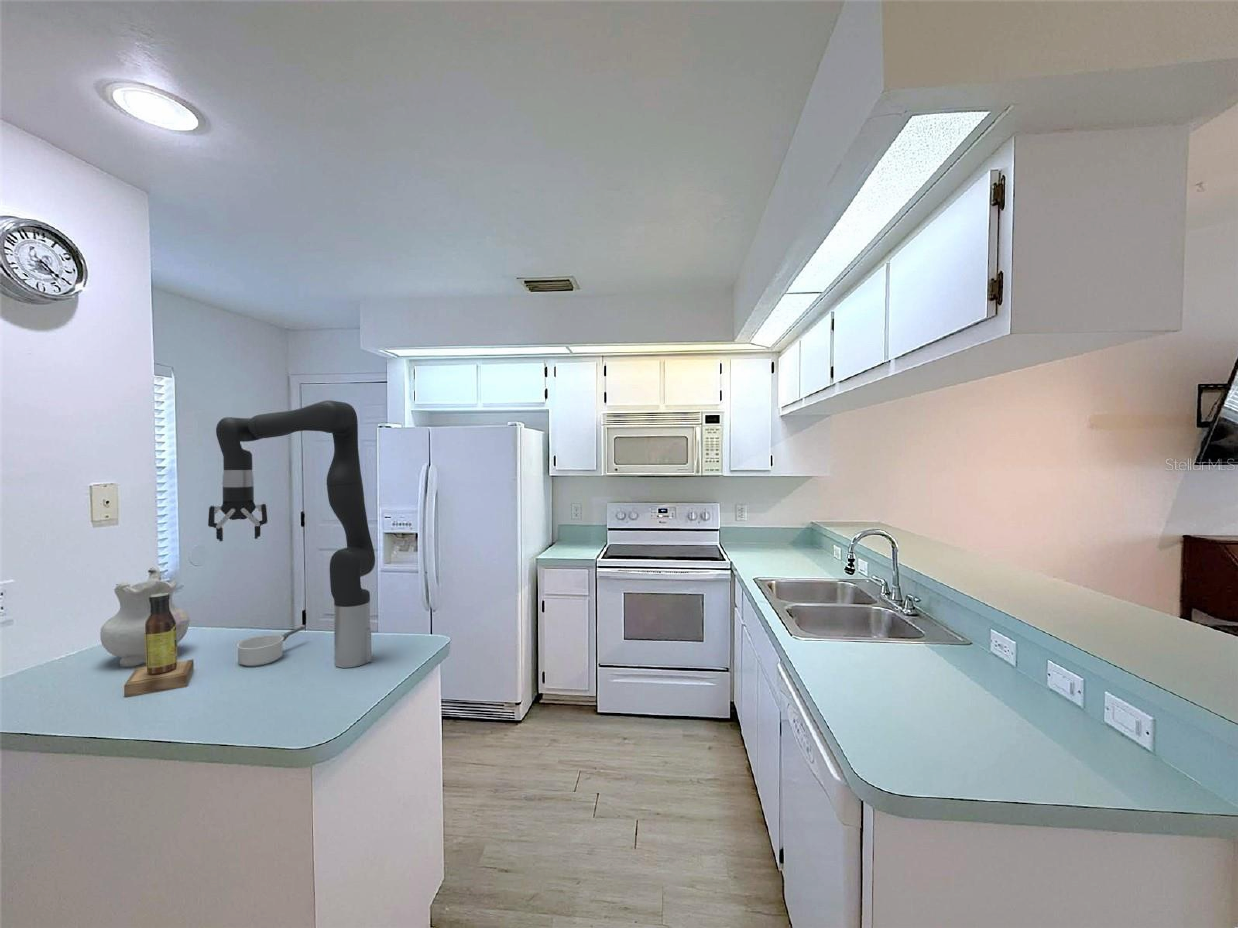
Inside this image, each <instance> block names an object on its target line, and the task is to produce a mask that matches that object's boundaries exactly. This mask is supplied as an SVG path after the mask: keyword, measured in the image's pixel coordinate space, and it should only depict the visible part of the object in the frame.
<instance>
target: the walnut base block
mask: <svg viewBox="0 0 1238 928" xmlns="http://www.w3.org/2000/svg"><path fill="white" fill-rule="evenodd" d="M193 672H194V658H193V659H186V660H181V661H180V660H179V661H177V666H176V668H175V669H173V670H171V671H168V672H165V673H161V674H149V673H148V672H147V668H146V666H142V667H136V668H135V669H134V670H133V672H132V673H131V675H130V676H129V677H128V679H127V681H126V682H125V684H123V685H124V686H123V688H124V691H123V693H124V696H123V697H124V698H128V697H134V696H141V695H147V694H151V693H157V692H162V691H163V692H164V691H168V690H174V689H179V688H186V687H188V684H189V682H190V680H191V676H192V675H193Z"/></svg>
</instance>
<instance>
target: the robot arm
mask: <svg viewBox="0 0 1238 928" xmlns="http://www.w3.org/2000/svg"><path fill="white" fill-rule="evenodd" d="M358 424H359V423H358V415H357V411H356V410H355V408H354V407H353V405H351V404H349V403H348V402H342V401H337V400H323V401H320V402H317V403H316V402H315V403H313V404H310V405H307V406H304V407H300V408H297V409H293V410H286V411H277V412H269V413H262V414H257V415H254V416H252V417H246V418H245V417H229V416H228V417H227V416H226V417H223V418H221V419H220V420H219V421H218V423H217V424H216V428H215V435H216V438H217V441H218V445H219V448H220V451H221V453H222V457H223V460H222V461H223V469H222V471H223V472H222V481H221V485H222V505H216V506H215V505H211V506H209V507H208V522H207V525H208V527H209V528H214V529H215V530H216V533H215V535H216V536H215V537H216V540H218V542H223V541H224V528H223V525H225V523H226V522H227V521H228V520H231V521H236V520H246V519H248V520H249V521H250V522H251V523H253V525H254V540H257V539H258V538H259V537H260V536H261V526H263V525H266V524H267V523H268V512H267V504H266V503H262V504H255V497H254V496H255V494H254V491H255V487H254V485H255V482H254V473H253V454H252V452H251V451H250V450H247V449H244V448H243V447H242V444H241V443H243V442H244V443H245V442H254V441H258V440H262V439H270V438H276V437H283V436H287V435H290V434H293V433H297V432H304V431H306V432H308V431H310V432H311V431H312V432H323V433H327V434H332V438H333V448H334V449H333V450H334V451H333V456H332V460H331V463H330V466H329V468H328V472H327V475H326V490H327V497H328V498H327V499H328V504H329V506H330V508H331V510H332V511H333V514H334V515H335V516H336V518H337V519H338V520H339V522H340V524H341V525H342V528H343V530H344V532H345V540H346V541H345V542H346V547H344V548H342V549H338V550H336V551H335V552H334V553H333V554H332V556H331V558H330V561H329V585H330V592H331V593H330V594H331V597H332V598H333V603H334V604H333V617H334V618H333V619H334V620H333V623H334V625H333V626H334V629H333V631H334V632H333V634H334V635H333V636H334V644H333V646H334V655H333V658H334V659H333V660H334V666H335V667H338V668H343V669H344V668H356V667H359V666H362V665H365V664H368V663H371V662H372V628H371V595H370V594H371V593H370V591H369V590H368V589H364V588H362V584H361V578H362V577H364V576H367V575H368V574H371V572H372V571H373V569H374V568H375V565H376V555H375V550H374V546H373V540H372V537H371V533H370V529H369V523H368V515H367V511H366V510H367V509H366V501H365V492H364V484H363V479H362V478H363V477H362V471H361V463H360V462H361V461H360V455H359V454H360V453H359V432H358V431H359V429H358V428H359V425H358ZM256 509H257V510H258V511H259V512H261V520H259V519H257V517H256V516H255V515H254V514H253V512H254V511H255V510H256ZM219 511H221V512H222V513H223V514H224V516H223V517H222V518H221V520H220V521H219V522H215V516H216V514H218V512H219Z"/></svg>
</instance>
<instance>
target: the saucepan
mask: <svg viewBox="0 0 1238 928" xmlns="http://www.w3.org/2000/svg"><path fill="white" fill-rule="evenodd" d="M304 629H306V626H300V627H297V628H295V629H291V630H290V631H288V632H286V633H283V634H282V635H280V634H279V635H278V634H267V635H259V636H254V637H250V638H249V637H248V638H247V639H244V640H241V641H239V642H238V643H236V648H237V663H238V664H240V665H243V666H246V667H257V666H264V665H267V664H271V663H273V662H275V661H277V660H278V659H280V658H281V657H282V656H283V654H284V653H283V651H284V650H283V642H285V641H286V640H287V638H288V637H290V636H291V635H293V634H296V633H299V632H301V631H303V630H304Z"/></svg>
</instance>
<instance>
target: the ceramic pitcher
mask: <svg viewBox="0 0 1238 928" xmlns="http://www.w3.org/2000/svg"><path fill="white" fill-rule="evenodd" d="M147 572H148V573H149V574H148V580H146V581H143V582H142V581H141V582H137V583H133V584H132V585H131V584H130V581H123V582H121V583H117V584H116V583H115V585H116V586H115V587H114V589H113V592H114V594H115V595H116V597H117V600H118V602H119V610H118V611H117V613H116V614H115V615H113V616H112V617H110V618H109V619H108V620H107V621H105V623H104V624H102V626H101V628H100V633H99V635H100V643H101V645H102V646H103V648H104V649H105V650H106V652H108V653H109V654H111V655H113V657H114V656H115V657H121V659H120V660H119V666H120V667H123V668H130V667H135V666H138V665H139V666H140V665H142V664H146V649H145V623H146V620H147V619H148V617H149V616H150V614H151V612H150V610H151V607H150V601H149V596H151V595H154V594H160V593H169V595H170V599H169V608H170V611H171V613H172V615H173V617H174V619H175V621H176V634H177V644H178V643H179V642H180V641H182V640H183V639H184V637H185V636H186V634H187V631H188V629H189V626H190V617H189V614H188V613H187V612H186V611H185V610H183V609H182V608H180V607H178V606H176V605H175V604H174V603H173V593H174V590H175V589H176V587H177V585H178V582H177V581H175V580H174V581H171V582H168V581H165V580H162V577H161V575H162V574H161V573H160V571H159V570H158V569H157V568H155V567H151V568H149V569H148V570H147Z"/></svg>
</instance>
